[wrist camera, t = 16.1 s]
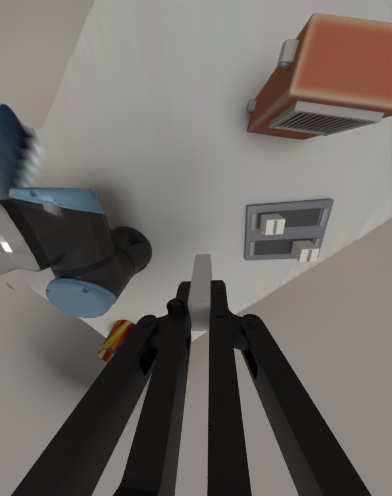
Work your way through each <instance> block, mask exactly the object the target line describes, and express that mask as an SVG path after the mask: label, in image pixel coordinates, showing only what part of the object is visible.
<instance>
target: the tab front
mask: <svg viewBox="0 0 392 496" xmlns="http://www.w3.org/2000/svg"><path fill="white" fill-rule="evenodd" d="M284 225H285V218H283V217H282V216H280V215H279V214H278V213H277V214H263V215H261V221H260V229H261V230H262V231H263V233H264V234H265V235H274V234H283V231H284Z"/></svg>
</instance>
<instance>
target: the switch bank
mask: <svg viewBox="0 0 392 496" xmlns="http://www.w3.org/2000/svg"><path fill="white" fill-rule="evenodd" d="M333 201H334V200H333V199H319V200H306V201H294V202H281V203H268V204H256V205H247V208H246V231H245V254H244V258H245V260H268V259H293V258H295V257H294V256H293V255H292V254H291V249H292V244H293V241H306V240H309V241H310V242H312V243H313V244H314V245H316V246H317V247H318V248H321V244H322V241H323V237H324V233H325V230H326V226H327V223H328V219H329V216H330V212H331V208H332V205H333ZM277 213H278V214H279V215H280V216H282V217H283V218H285V225H284V231H283V234H274V235H265V234H264V233H263V231H262V230H261V229H260V221H261V215H263V214H277ZM319 251H320V249H319ZM318 255H319V253H318ZM317 258H318V257H317Z"/></svg>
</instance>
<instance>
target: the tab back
mask: <svg viewBox="0 0 392 496" xmlns="http://www.w3.org/2000/svg"><path fill="white" fill-rule="evenodd" d="M319 249H320V248H318V247H317V246H316V245H314V244H313V243H312V242H310V241H309V240H306V241H293V244H292V249H291V254H292V255H293V256H294V257H295V258H296V259H297V260H298V261H299V262H312V261H316V260H317V257H318V253H319Z"/></svg>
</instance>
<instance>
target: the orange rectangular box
mask: <svg viewBox="0 0 392 496" xmlns="http://www.w3.org/2000/svg"><path fill="white" fill-rule="evenodd" d="M247 111H249V112H251V116H250V121H249V125H248V129H247V132H251V133H258V134H265V135H272V136H280V137H287V138H294V139H301V140H304V139H308V138H312V137H315V136H319V135H323V136H327V135H330V134H334V133H338V132H342V131H346V130H349V129H353V128H357V127H361V126H365V125H369V124H376V123H377V122H380V121H381V119H382V118H386V117H389V116H392V23H390V22H382V21H374V20H367V19H359V18H351V17H344V16H336V15H328V14H320V13H314V14H312V16H311V17H310V19H309V20H308V22H307V23H306V25H305V26H304V28H303V29H302V31H301V32H300V34H299V35H298V36H297V38H296V39H295V40H287V41H285V42H284V43H283V45H282V49H281V53H280V57H279V61H278V66H277V68H276V69H275V71H274V72H273V73H272V75H271V76H270V78H269V79H268V81H267V82H266V84H265V85H264V87H263V88H262V90H261V91H260V93H259V94H258V96H257V97H256V99H255V100H254V99H251V100H249V103H248V108H247Z"/></svg>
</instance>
